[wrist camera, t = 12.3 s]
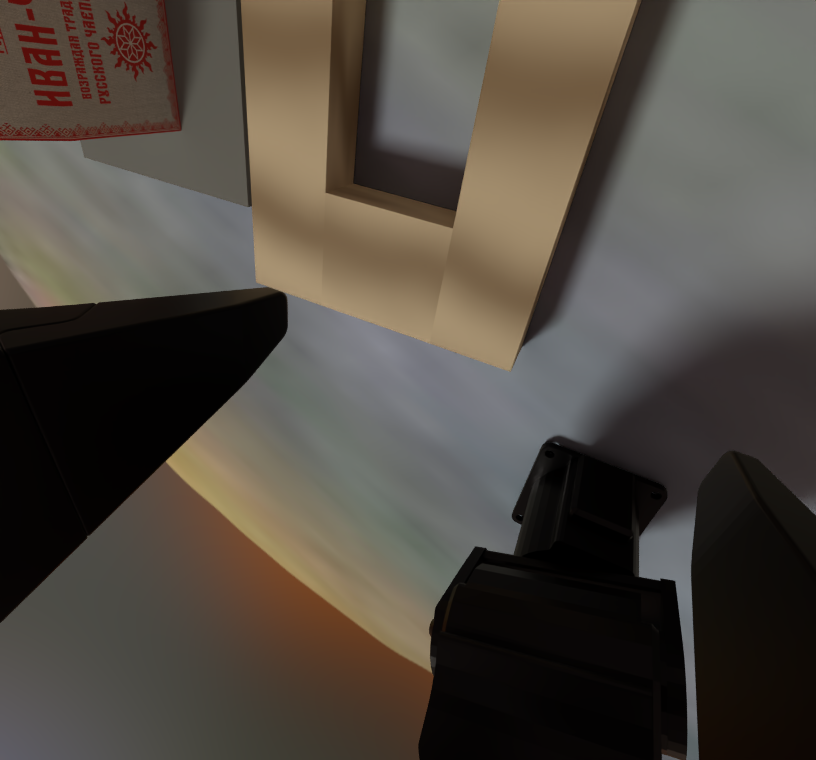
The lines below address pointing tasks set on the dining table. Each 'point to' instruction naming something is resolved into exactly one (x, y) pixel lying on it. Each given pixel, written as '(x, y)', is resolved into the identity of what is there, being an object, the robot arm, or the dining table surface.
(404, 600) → the dining table surface
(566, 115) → the holder
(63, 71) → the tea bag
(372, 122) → the dining table surface
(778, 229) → the dining table surface
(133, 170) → the mat
